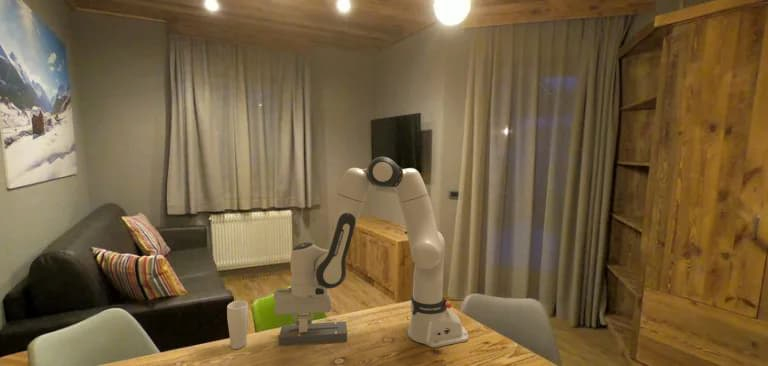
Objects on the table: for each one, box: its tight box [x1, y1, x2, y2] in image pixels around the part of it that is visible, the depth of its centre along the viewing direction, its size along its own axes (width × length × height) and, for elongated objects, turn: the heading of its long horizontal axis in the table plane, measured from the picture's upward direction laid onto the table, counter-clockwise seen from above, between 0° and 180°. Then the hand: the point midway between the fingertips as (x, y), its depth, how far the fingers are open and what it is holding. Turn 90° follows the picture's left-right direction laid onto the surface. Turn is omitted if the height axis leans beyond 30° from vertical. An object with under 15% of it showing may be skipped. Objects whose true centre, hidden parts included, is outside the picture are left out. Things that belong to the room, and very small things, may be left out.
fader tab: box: [298, 313, 309, 332], centre depth 132 cm, size 3×5×5 cm, turn 9°
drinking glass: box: [226, 300, 249, 350], centre depth 126 cm, size 7×7×15 cm
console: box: [278, 321, 348, 347], centre depth 133 cm, size 24×9×3 cm, turn 99°
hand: (303, 324), depth 133 cm, fingers closed on fader tab, 3 cm apart
